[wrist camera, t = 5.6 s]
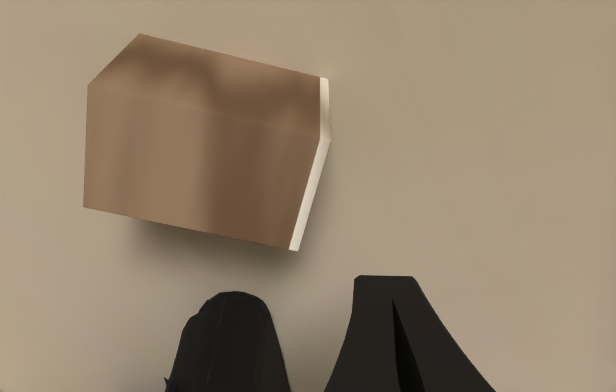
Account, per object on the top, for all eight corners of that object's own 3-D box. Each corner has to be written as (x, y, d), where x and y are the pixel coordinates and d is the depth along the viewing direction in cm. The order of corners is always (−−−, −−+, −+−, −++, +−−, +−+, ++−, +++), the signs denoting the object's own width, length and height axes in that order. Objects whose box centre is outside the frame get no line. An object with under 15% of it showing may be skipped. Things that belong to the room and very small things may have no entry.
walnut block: (330, 140, 16) (87, 85, 15) (297, 251, 18) (83, 207, 17) (328, 79, 20) (139, 33, 19) (302, 174, 22) (130, 135, 21)
